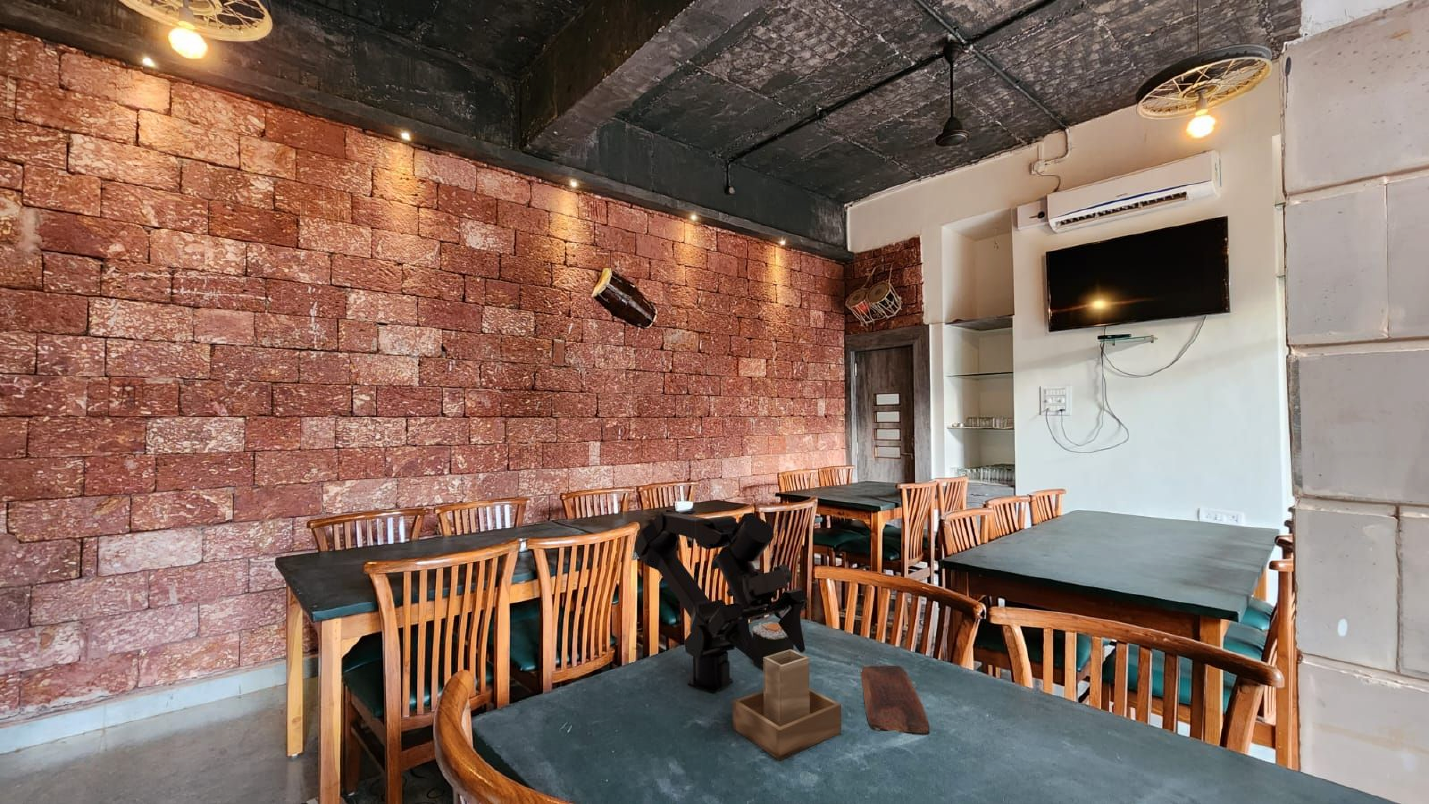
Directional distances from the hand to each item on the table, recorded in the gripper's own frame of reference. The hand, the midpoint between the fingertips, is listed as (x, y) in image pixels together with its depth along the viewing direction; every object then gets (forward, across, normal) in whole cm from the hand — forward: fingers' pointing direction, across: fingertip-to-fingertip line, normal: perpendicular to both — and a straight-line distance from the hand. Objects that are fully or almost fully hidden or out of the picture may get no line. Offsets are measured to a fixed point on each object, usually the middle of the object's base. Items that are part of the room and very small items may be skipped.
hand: (783, 658), depth 97 cm
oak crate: (+9, 0, +8) cm, 12 cm away
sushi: (-6, +16, +23) cm, 28 cm away
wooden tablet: (+11, +24, +6) cm, 27 cm away
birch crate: (+8, 0, +7) cm, 11 cm away
